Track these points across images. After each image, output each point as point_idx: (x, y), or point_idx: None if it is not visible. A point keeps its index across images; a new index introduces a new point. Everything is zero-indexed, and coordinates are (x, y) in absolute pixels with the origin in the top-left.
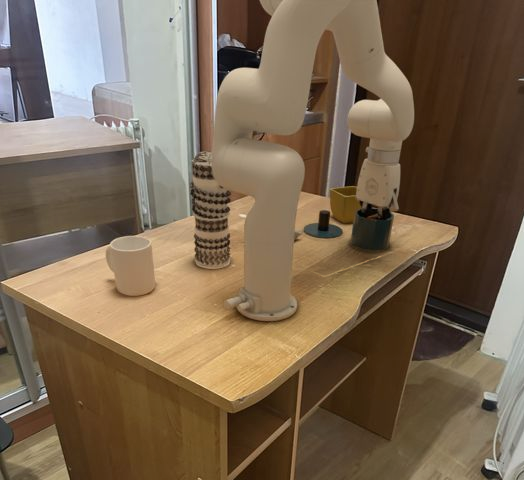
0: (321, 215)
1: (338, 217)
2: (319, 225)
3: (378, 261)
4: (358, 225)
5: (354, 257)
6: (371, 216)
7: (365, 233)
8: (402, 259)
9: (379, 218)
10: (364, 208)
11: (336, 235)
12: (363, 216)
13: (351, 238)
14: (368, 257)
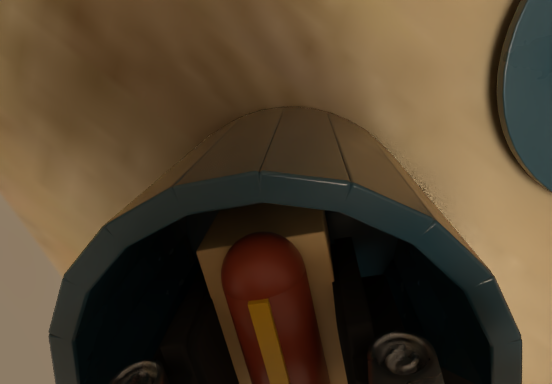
0: None
1: None
2: None
3: (58, 116)
4: (262, 143)
5: (153, 3)
6: (259, 339)
7: (187, 158)
8: (57, 254)
9: (167, 366)
10: (390, 377)
11: (503, 85)
12: (360, 296)
13: (358, 130)
14: (128, 97)
